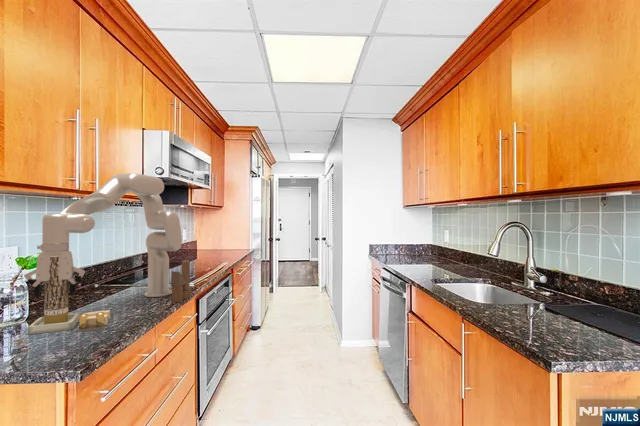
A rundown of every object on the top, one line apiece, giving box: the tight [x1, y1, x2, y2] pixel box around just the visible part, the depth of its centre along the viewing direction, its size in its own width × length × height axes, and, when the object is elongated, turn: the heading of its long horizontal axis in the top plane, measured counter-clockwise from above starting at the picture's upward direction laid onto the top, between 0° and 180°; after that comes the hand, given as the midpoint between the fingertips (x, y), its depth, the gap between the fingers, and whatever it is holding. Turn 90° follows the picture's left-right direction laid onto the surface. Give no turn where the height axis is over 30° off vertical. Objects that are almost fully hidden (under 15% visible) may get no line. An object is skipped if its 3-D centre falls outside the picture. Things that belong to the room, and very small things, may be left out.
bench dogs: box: [75, 312, 106, 333], centre depth 116 cm, size 4×8×5 cm, turn 116°
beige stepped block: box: [83, 309, 111, 326], centre depth 122 cm, size 9×8×4 cm
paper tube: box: [43, 255, 70, 325], centre depth 118 cm, size 7×7×25 cm
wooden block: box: [171, 259, 192, 303], centre depth 156 cm, size 4×11×18 cm, turn 173°
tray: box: [27, 312, 81, 336], centre depth 118 cm, size 12×12×2 cm
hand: (55, 295), depth 118 cm, fingers open, 9 cm apart
